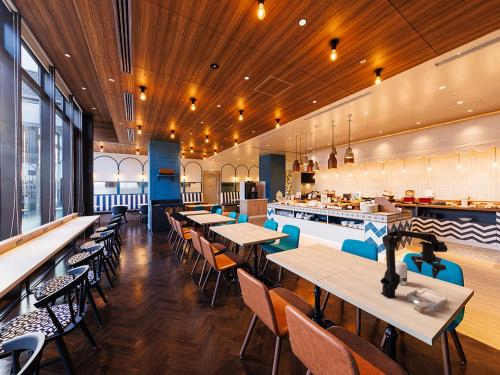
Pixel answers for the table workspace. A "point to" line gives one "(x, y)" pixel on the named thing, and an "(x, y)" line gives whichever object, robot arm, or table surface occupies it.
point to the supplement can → (401, 272)
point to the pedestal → (420, 309)
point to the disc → (420, 302)
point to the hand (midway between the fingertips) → (427, 275)
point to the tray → (431, 295)
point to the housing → (431, 305)
